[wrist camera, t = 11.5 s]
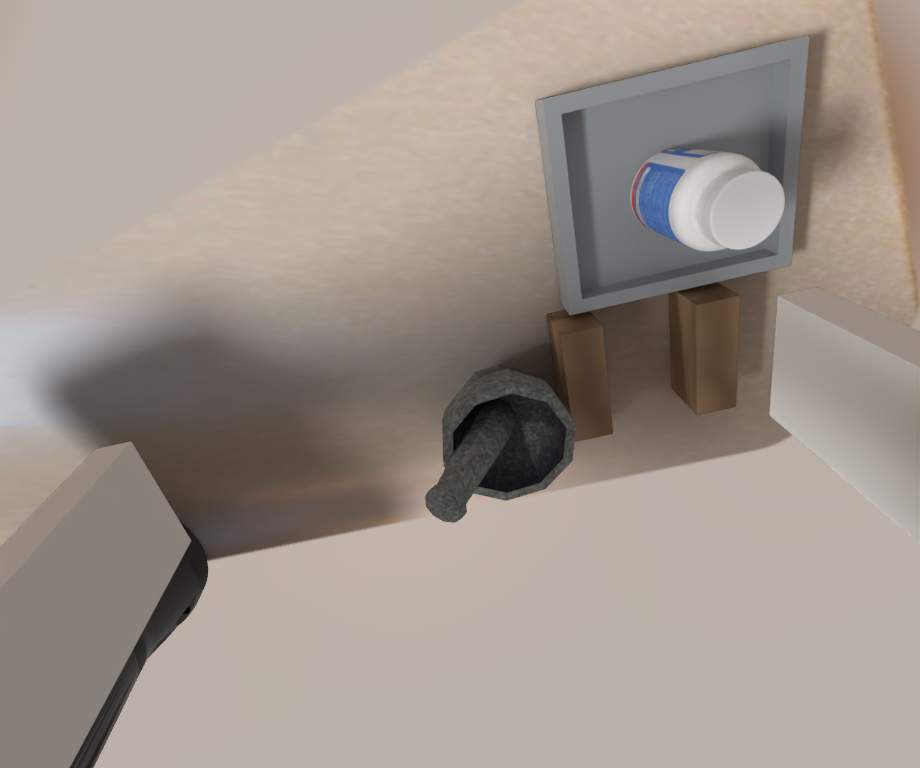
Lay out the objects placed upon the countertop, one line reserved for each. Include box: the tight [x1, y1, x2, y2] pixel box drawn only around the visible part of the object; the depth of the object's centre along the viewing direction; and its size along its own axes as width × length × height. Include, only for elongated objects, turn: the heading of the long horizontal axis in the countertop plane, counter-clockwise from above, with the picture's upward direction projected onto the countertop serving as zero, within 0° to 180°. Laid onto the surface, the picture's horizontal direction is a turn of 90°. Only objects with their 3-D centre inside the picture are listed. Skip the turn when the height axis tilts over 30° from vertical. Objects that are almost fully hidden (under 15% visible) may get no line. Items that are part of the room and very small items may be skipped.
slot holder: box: [546, 282, 740, 442], centre depth 40 cm, size 12×9×4 cm
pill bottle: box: [630, 148, 785, 251], centre depth 32 cm, size 6×5×10 cm
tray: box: [535, 35, 810, 315], centre depth 36 cm, size 16×14×2 cm
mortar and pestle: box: [425, 365, 576, 522], centre depth 38 cm, size 11×9×12 cm
